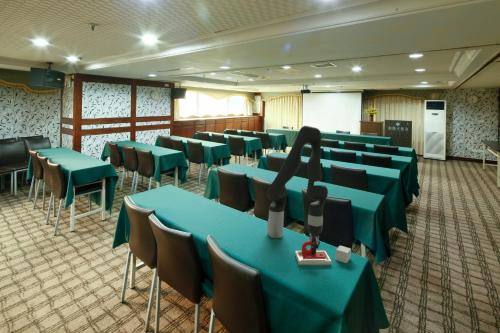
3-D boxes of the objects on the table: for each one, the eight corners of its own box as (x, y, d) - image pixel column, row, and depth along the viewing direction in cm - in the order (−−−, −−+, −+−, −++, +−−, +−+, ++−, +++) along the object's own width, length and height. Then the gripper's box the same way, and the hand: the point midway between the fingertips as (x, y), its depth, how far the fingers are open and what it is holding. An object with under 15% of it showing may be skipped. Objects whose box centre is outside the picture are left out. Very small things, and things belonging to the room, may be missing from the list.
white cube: (335, 259, 150) (336, 249, 149) (339, 255, 155) (339, 245, 154) (346, 263, 147) (347, 252, 145) (350, 258, 151) (351, 248, 150)
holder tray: (295, 254, 154) (295, 250, 154) (324, 254, 155) (325, 250, 154) (299, 265, 144) (299, 260, 143) (330, 265, 144) (331, 260, 144)
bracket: (303, 259, 145) (304, 244, 143) (301, 254, 149) (302, 240, 148) (326, 258, 145) (327, 244, 144) (323, 254, 150) (324, 240, 148)
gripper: (305, 217, 152) (303, 247, 155) (311, 227, 139) (309, 259, 142) (318, 217, 152) (316, 247, 156) (326, 227, 139) (324, 259, 142)
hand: (313, 253), depth 149 cm, fingers closed on bracket, 1 cm apart
